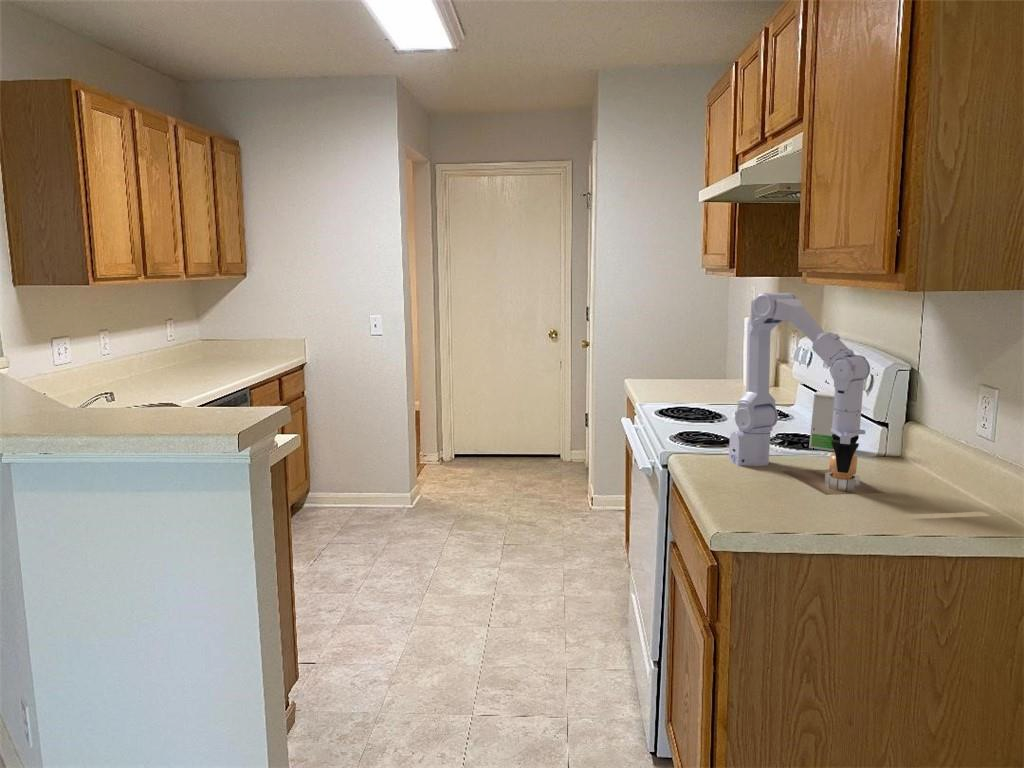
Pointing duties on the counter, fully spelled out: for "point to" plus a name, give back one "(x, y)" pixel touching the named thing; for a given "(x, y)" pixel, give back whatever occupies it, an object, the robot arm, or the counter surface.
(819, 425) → the skincare box
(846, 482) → the duct stub
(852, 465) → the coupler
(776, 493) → the counter surface
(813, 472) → the brown board
